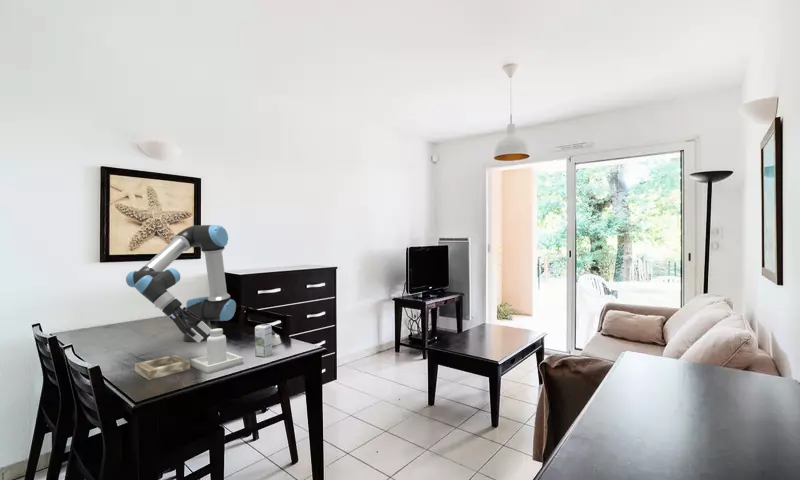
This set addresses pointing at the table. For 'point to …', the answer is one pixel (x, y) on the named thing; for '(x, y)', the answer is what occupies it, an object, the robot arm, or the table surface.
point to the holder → (162, 366)
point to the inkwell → (275, 339)
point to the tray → (205, 367)
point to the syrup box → (263, 340)
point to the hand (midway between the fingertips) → (205, 336)
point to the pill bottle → (216, 347)
